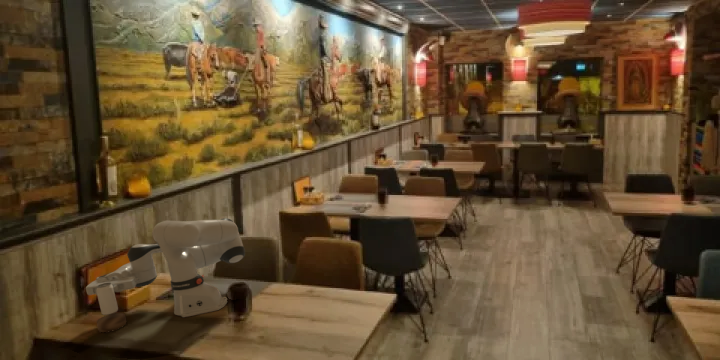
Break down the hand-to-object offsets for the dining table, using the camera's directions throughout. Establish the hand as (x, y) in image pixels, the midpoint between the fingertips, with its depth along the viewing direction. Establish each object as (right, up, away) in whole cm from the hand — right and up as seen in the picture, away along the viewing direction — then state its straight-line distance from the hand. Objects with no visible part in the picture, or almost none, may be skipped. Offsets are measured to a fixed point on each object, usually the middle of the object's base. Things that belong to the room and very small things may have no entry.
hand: (103, 292), depth 236 cm
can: (+2, -9, +2) cm, 9 cm away
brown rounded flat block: (+3, -15, +3) cm, 16 cm away
